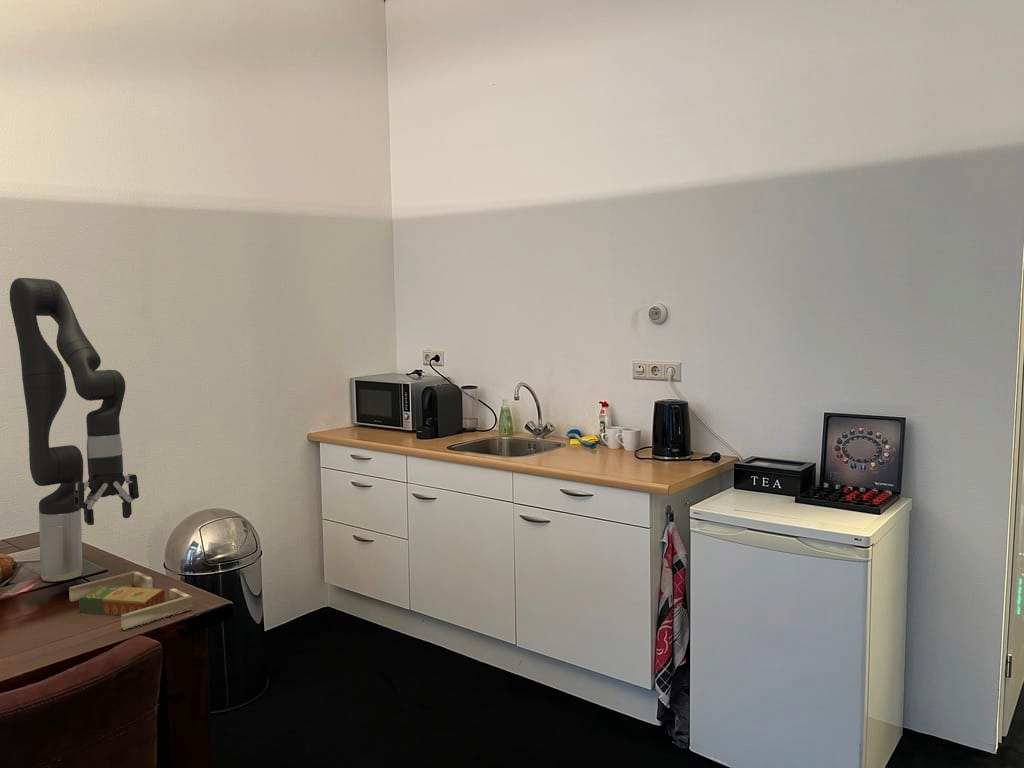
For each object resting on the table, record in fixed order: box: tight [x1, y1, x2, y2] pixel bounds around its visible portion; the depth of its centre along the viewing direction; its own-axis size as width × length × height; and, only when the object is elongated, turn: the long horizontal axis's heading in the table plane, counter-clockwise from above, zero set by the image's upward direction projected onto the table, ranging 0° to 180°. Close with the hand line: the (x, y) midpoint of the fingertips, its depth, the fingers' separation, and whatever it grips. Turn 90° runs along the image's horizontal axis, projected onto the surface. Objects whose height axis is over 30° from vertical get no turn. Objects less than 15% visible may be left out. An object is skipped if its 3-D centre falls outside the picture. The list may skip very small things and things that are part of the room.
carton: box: [78, 585, 166, 617], centre depth 186 cm, size 8×16×4 cm, turn 84°
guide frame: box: [68, 570, 193, 631], centre depth 188 cm, size 25×16×3 cm, turn 52°
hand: (108, 521), depth 194 cm, fingers open, 8 cm apart
